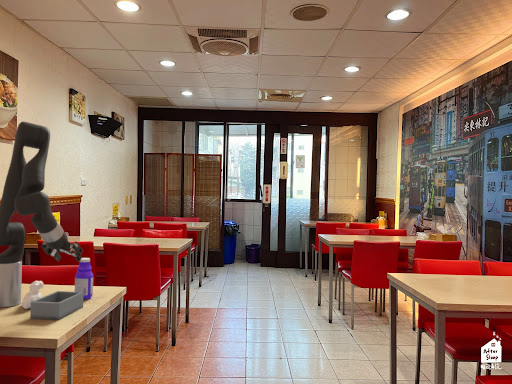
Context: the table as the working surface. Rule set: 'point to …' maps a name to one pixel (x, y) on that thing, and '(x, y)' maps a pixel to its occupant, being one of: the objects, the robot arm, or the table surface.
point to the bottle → (84, 279)
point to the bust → (32, 294)
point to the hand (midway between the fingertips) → (69, 259)
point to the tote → (56, 305)
